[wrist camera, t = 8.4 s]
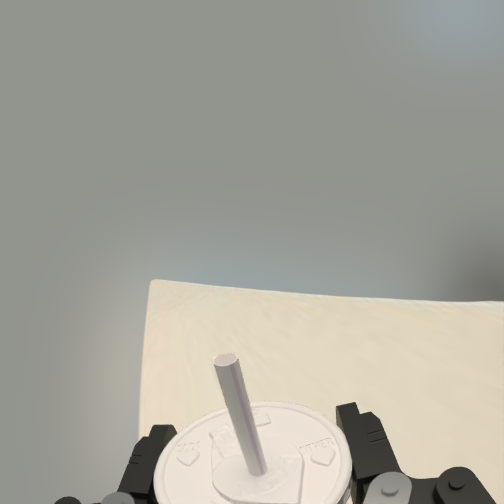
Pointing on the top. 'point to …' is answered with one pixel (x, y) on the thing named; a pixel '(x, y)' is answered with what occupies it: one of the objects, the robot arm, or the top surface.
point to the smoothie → (254, 453)
